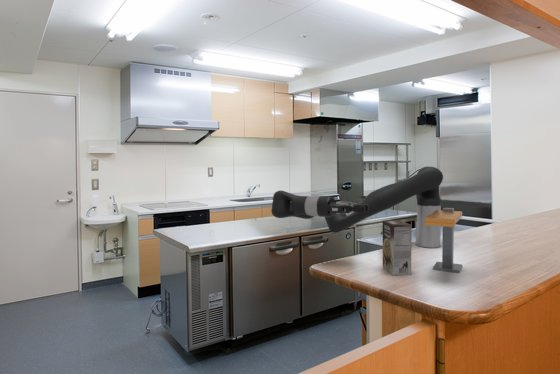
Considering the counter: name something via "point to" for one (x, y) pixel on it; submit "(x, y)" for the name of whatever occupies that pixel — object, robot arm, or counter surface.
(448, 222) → the grey orange pedestal
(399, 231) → the coffee box
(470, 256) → the counter surface
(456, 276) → the counter surface
